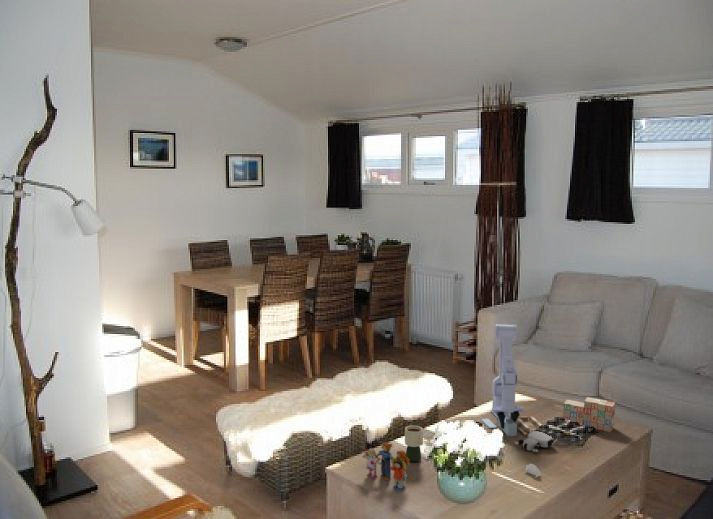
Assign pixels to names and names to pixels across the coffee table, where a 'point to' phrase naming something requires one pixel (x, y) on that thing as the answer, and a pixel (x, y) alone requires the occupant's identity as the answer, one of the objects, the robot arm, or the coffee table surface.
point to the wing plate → (488, 423)
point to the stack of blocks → (591, 413)
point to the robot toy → (536, 441)
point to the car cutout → (532, 470)
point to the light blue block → (509, 426)
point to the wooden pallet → (527, 424)
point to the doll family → (388, 465)
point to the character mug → (413, 442)
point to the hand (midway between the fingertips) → (507, 427)
